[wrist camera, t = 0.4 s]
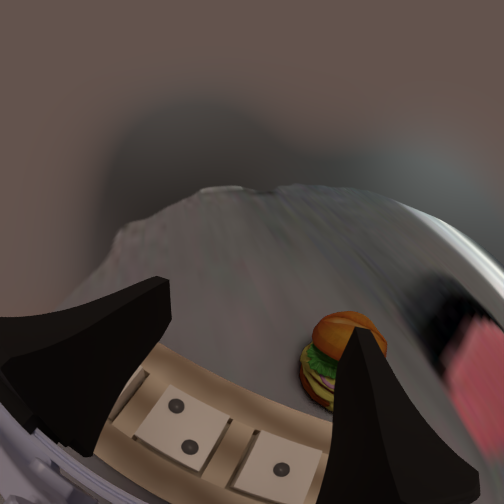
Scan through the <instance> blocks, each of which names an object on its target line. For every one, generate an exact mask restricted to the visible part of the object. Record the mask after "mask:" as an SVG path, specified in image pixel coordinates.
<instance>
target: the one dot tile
mask: <svg viewBox="0 0 504 504" xmlns="http://www.w3.org/2000/svg"><path fill="white" fill-rule="evenodd" d="M321 454H322V451H321V450H318V449H314V448H311V447H308V446H305V445H302V444H299V443H296V442H293V441H290V440H287V439H284V438H282V437H279V436H276V435H274V434H271V433H269V432H266V431H264V430H261V431H260V432H259V433H258V434H257V435H255V437H254V439H253V441H252V443H251V446H250V448H249V450H248V452H247V454H246V456H245V458H244V460H243V462H242V464H241V466H240V467H239V469H238V471H237V473H236V475H235V477H234V479H233V481H232V483H231V484H230V486H229V487H230V488H233V489H235V490H238V491H241V492H243V493H246V494H249V495H252V496H255V497H258V498H261V499H264V500H267V501H271V502H274V503H277V504H303V502H304V500H305V498H306V495H307V493H308V490H309V488H310V485H311V482H312V480H313V477H314V474H315V472H316V469H317V466H318V463H319V460H320V457H321Z"/></svg>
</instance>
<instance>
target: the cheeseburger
mask: <svg viewBox="0 0 504 504" xmlns="http://www.w3.org/2000/svg"><path fill="white" fill-rule="evenodd" d="M355 326H356V327H361V328H366V329H370V330H371V332H372V333H373V335H374V337H375V339H376V341H377V343H378V345H379V347H380V349H381V351H382V352H383V354H384V356H385V358H386V352H387V341H386V340H385V338H384V337H383V336H382V335H381V334H380V332H379V331H378V330H377V328H376V327H375V325H374V324H373V323H372V321H371V320H369V319H368V318H367V317H366V316H364V315H363V314H360V313H358V312H353V311H344V312H337V313H333V314H330V315H327V316H325V317H324V318H322V319H321V321H320V322H319V323H318V324H317V325H316V326H315V328H314V329H313V334H312V340H313V341H312V342H311V343H310V344H309V345H307V346H306V347H305V348H304V350H303V352H302V354H301V357H300V361H301V369H300V375H299V376H300V379H301V382H302V384H303V387H304V389H305V390H306V391H307V392H308V394H309V395H310V396H311V398H312V399H314V400H315V401H317V402H318V403H319V404H321V405H322V406H324V407H325V408H326V409H328V410H330V411H333V402H334V384H335V377H336V371H337V364H338V362H339V360H340V358H341V356H342V353H343V351H344V349H345V347H346V345H347V343H348V341H349V338H350V336H351V334H352V332H353V330H354V327H355Z"/></svg>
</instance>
